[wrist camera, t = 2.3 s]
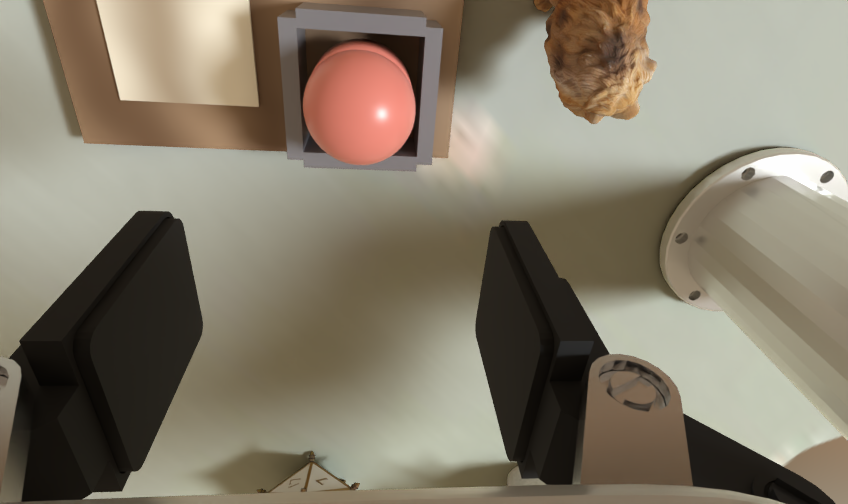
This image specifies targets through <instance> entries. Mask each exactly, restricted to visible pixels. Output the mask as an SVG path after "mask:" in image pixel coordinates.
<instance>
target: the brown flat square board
mask: <svg viewBox="0 0 848 504" xmlns="http://www.w3.org/2000/svg"><path fill="white" fill-rule="evenodd" d="M43 2H44V6H45V9H46V13H47V16H48V20H49V23H50V26H51V30H52V33H53V37H54V40H55V44H56V47H57V50H58V54H59V57H60V61H61V64H62V68H63V71H64V75H65V78H66V81H67V85H68V88H69V92H70V95H71V99H72V102H73V105H74V109H75V112H76V116H77V119H78V123H79V126H80V129H81V133H82V136H83V140H84V143H93V144H117V145H142V146H166V147H190V148H215V149H239V150H264V151H287V143H286V129H285V116H284V102H283V88H282V75H281V61H280V47H279V33H278V20H277V17H278V16H280V15H281V14H282V13H284V12H285V11H287V10H295V8H296V7H298V6H299V5H300V4H302V3H303V2H310V3H323V4H337V5H351V6H364V7H378V8H392V9H405V10H419V11H422V12H423V13H424V15H425V16H426V18H427V19H426V20H437V22H438V23H439V24H440V25H441V26H442V28H443V38H442V50H441V61H440V73H439V85H438V96H437V108H436V120H435V131H434V143H433V155H432V157H435V158H448V151H449V141H450V131H451V122H452V112H453V102H454V92H455V83H456V73H457V63H458V54H459V44H460V34H461V24H462V15H463V5H464V0H43ZM305 38H306V59H307V80H309V78H310V76H311V74H312V72H313V70H314V68H315V66H316V64H317V62H318V61H319V59H320V58H321V57H322V55H323V54H324V53H325V52H326V51H327V50H328V49H330V48H331V47H333V46H334V45H336V44H338V43H340V42H342V41H346V40H349V39H369V40H372V41H376V42H378V43H381V44H383V45H384V46H386V47H388V48H389V49H390V50H392V51H393V52H394V53H395V54H396V55H397V56H398V57H399V58H400V60H401V61H402V62H403V64H404V66H405V68H406V69H407V72H408V74H409V78H410V81H411V85H412V89H413V93H414V97H415V104H416V89H417V73H418V57H419V41H420V36H406V35H391V34H376V33H361V32H347V31H332V30H317V29H305ZM413 136H414V125H413V128H412V131H411V133H410V135H409V137H408V138H413Z"/></svg>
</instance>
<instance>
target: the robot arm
mask: <svg viewBox="0 0 848 504" xmlns="http://www.w3.org/2000/svg"><path fill="white" fill-rule="evenodd" d="M660 267H661V270H662V274H663V277H664V278H665V280H666V282H667V284H668V285H669V287H670V288H671V289H672V290H673V291H674V292H675V293H676V294H677V296H678V297H679V298H681V299H682V300H683V301H685V302H686V303H688V304H690V305H692V306H695V307H697V308H699V309H704V310H710V311H724V312H725V313H726V314H727V315H728V317H729V318H730V319H731V320H732V321H733V322H734V323H735V324H736V325H737V326H738V327H739V328H740V329H741V330H742V331H743V332H744V333H745V334H746V335H747V336H748V337H749V338H750V339H751V341H752V342H753V343H754V344H755V345H756V346H757V347H758V348H759V349H760V350H761V351H762V352H763V353H764V354H765V355H766V356H767V357H768V358H769V359H770V360H771V361H772V362H773V363H774V364H775V366H776V367H777V368H778V369H779V370H780V371H781V372H782V373H783V374H784V375H785V376H786V377H787V378H788V379H789V380H790V381H791V382H792V383H793V384H794V385H795V386H796V387H797V388H798V390H799V391H800V392H801V393H802V394H803V395H804V396H805V397H806V398H807V399H808V400H809V401H810V402H811V403H812V404H813V405H814V406H815V407H816V408H817V409H818V410H819V411H820V412H821V414H822V415H823V416H824V417H825V418H826V419H827V420H828V421H829V422H830V423H831V424H832V425H833V426H834V427H835V428H836V429H837V430H838V431H839V432H840V433H841V434H842V435H843V436H844V438H845V439H846V440H847V441H848V184H847V180H846V179H845V177H844V176H843V174H842V173H841V171H840V169H839V168H837V167H836V166H835V165H834V164H832V163H831V162H830V161H829V160H827V159H825V158H823V157H821V156H819V155H816V154H814V153H812V152H809V151H805V150H801V149H798V148H774V149H767V150H761V151H758V152H754V153H751V154H748V155H745V156H742V157H740V158H738V159H736V160H734V161H732V162H730V163H727V164H725V165H724V166H722V167H721V168H719V169H718V170H716V171H714V172H713V173H711V174H710V175H708V176H707V177H706V178H705V179H704V180H702V181H701V182H700V183H699V184H698V185H697V186H696V187H694V188H693V189H692V190H691V191H690V192H689V194H688V195H687V196H686V197H685V198H684V199H683V200H682V202H681V203H680V204H679V205H678V207H677V208H676V210H675V212H674V213H673V215H672V216H671V218H670V219H669V222H668V224H667V226H666V229H665V231H664V233H663V236H662V241H661V246H660ZM202 329H203V321H202V315H201V310H200V305H199V300H198V295H197V290H196V286H195V281H194V276H193V271H192V266H191V261H190V256H189V251H188V246H187V241H186V236H185V231H184V227H183V223H182V221H181V220H180V219H174V217H173V216H172V214H171V213H170V212H163V211H138V212H137V213H135V215H134V216H133V217H132V218H131V219H130V220H129V221H128V222H127V223H126V224H125V226H124V227H123V228H122V229H121V230H120V231H119V232H118V233H117V234H116V235H115V236H114V238H113V239H112V240H111V241H110V242H109V243H108V244H107V245H106V246H105V247H104V249H103V250H102V251H101V252H100V253H99V254H98V255H97V256H96V257H95V258H94V260H93V261H92V262H91V263H90V264H89V265H88V266H87V267H86V268H85V269H84V270H83V272H82V273H81V274H80V275H79V276H78V277H77V278H76V279H75V280H74V281H73V283H72V284H71V285H70V286H69V287H68V288H67V289H66V290H65V291H64V292H63V294H62V295H61V296H60V297H59V298H58V299H57V300H56V301H55V302H54V303H53V304H52V306H51V307H50V308H49V309H48V310H47V311H46V312H45V313H44V314H43V315H42V317H41V318H40V319H39V320H38V321H37V322H36V323H35V324H34V325H33V326H32V327H31V329H30V330H29V331H28V332H27V333H26V334H25V335H24V336H23V337H22V338H21V340H20V341H19V342H20V344H21V345H20V346H19V348H18V349H17V350H16V351H15V352H14V353H13V354H12V355H11V356H10V358H5V357H2V356H0V504H835V503H834V501H833V500H832V499H830V497H828V496H827V495H826V494H825V493H824V492H823V491H821V490H820V489H819V488H818V487H817V486H815V485H814V484H812V483H811V482H809V481H807V480H806V479H804V478H803V477H801V476H799V475H797V474H796V473H794V472H792V471H790V470H788V469H786V468H784V467H783V466H781V465H779V464H777V463H775V462H773V461H771V460H769V459H768V458H766V457H764V456H762V455H760V454H758V453H756V452H754V451H753V450H751V449H749V448H747V447H745V446H743V445H741V444H739V443H738V442H736V441H734V440H732V439H730V438H728V437H726V436H724V435H723V434H721V433H719V432H717V431H715V430H713V429H711V428H710V427H708V426H706V425H704V424H702V423H700V422H698V421H696V420H695V419H693V418H691V417H689V416H687V415H685V414H683V410H682V403H681V397H680V394H679V391H678V388H677V386H676V385H675V384H674V382H673V381H672V380H671V378H670V377H669V376H668V375H666V374H665V373H664V372H663V371H662V370H660V369H659V368H658V367H656V366H654V365H652V364H651V363H649V362H647V361H645V360H642V359H639V358H636V357H634V356H629V355H623V354H609V352H608V351H607V349H606V347H605V345H604V344H603V342H602V340H601V338H600V337H599V335H598V333H597V331H596V330H595V328H594V326H593V324H592V323H591V321H590V319H589V318H588V316H587V314H586V312H585V311H584V309H583V307H582V305H581V304H580V302H579V300H578V298H577V297H576V295H575V293H574V291H573V290H572V288H571V286H570V285H569V283H568V282H567V281H566V279H563V278H559V277H558V275H557V273H556V271H555V269H554V268H553V266H552V264H551V262H550V260H549V259H548V257H547V255H546V253H545V252H544V250H543V248H542V246H541V244H540V243H539V241H538V239H537V237H536V235H535V234H534V232H533V230H532V228H531V226H530V225H529V223H528V222H527V221H501V222H500V225H499V227H492V228H491V231H490V237H489V243H488V249H487V255H486V261H485V268H484V274H483V280H482V286H481V292H480V299H479V305H478V311H477V317H476V338H477V342H478V345H479V349H480V353H481V357H482V361H483V365H484V369H485V373H486V376H487V380H488V384H489V388H490V392H491V396H492V400H493V404H494V407H495V411H496V415H497V419H498V423H499V427H500V431H501V435H502V439H503V442H504V446H505V450H506V454H507V457H508V459H509V460H510V461H517V463H518V467H519V471H520V474H521V478H522V479H535V478H539V480H541V481H542V482H544V483H545V484H546V485H525V486H488V487H450V488H413V489H378V490H346V491H314V492H283V493H253V494H222V495H192V496H165V497H138V498H112V499H85V500H82V499H83V498H85V497H87V496H88V495H90V494H91V493H92V492H116V491H122V490H123V488H124V486H125V484H126V481H127V479H128V477H129V475H130V473H131V471H138V470H139V469H140V468H141V467H142V465H143V463H144V461H145V459H146V457H147V454H148V452H149V450H150V448H151V446H152V443H153V441H154V439H155V437H156V435H157V432H158V430H159V428H160V426H161V424H162V421H163V419H164V417H165V415H166V413H167V410H168V408H169V406H170V404H171V402H172V399H173V397H174V395H175V393H176V390H177V388H178V386H179V384H180V382H181V379H182V377H183V375H184V373H185V371H186V368H187V366H188V364H189V362H190V360H191V357H192V355H193V353H194V351H195V349H196V346H197V344H198V342H199V340H200V337H201V335H202Z"/></svg>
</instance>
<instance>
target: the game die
mask: <svg viewBox="0 0 848 504" xmlns="http://www.w3.org/2000/svg"><path fill="white" fill-rule="evenodd" d="M309 459H310V462H309V463H308V464H307V465H305V466H304V467H302V468H301V469H300V470H298V471H297V472H295V473H294V474H293V475H291V476H290V477H289V478H287V479H286V480H284V481H283V482H282V483H280V484H279V485H277V486H276V487H275V488H273V489H272V490H270V491H269V492H266V490H263V489H258V490H257V491H258V493H283V492H314V491H346V490H356V489H358V487H359V485H360V483H354V484H352V486H351V487H350V486H348V485H347V484H346V483H345V481H346V480H345V481H344V480H340V479H338V478H337V477H335V476H334V475H332V474H331V473H329V472H328V471H327V470H325V469H324V468H322V467H321V466H319V465H318V464H316V463H315V462H314V459H315V454H314V453H313V451H312V452H311V454H310V455H309Z"/></svg>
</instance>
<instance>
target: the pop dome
mask: <svg viewBox="0 0 848 504" xmlns="http://www.w3.org/2000/svg"><path fill="white" fill-rule="evenodd" d="M303 113H304V118H305V122H306V125H307V128H308V130H309V132H310V134H311V136H312V138H313V139H314V141H315V142H316V143H317V144H318V146H319V147H320V148H321V149H322V150H324V151H325V152H326V153H327V154H328V155H330V156H332V157H333V158H335V159H337V160H339V161H342V162H344V163H348V164H352V165H370V164H375V163H378V162H381V161H383V160H385V159H387V158H389V157H391V156H392V155H393V154H395V153H396V152H397V151H398V150H399V149H400V148H401V147H402V146H403V145H404V143H405V142H406V140H407V139H408V137H409V135H410V133H411V131H412V128H413V125H414V121H415V114H416V113H415V97H414V93H413V89H412V85H411V81H410V78H409V74H408V72H407V69H406V68H405V66H404V64H403V62H402V61H401V60H400V58H399V57H398V56H397V55H396V54H395V53H394V52H393V51H392V50H390V49H389V48H388V47H386V46H384V45H383V44H381V43H378V42H376V41H372V40H369V39H349V40H346V41H342V42H340V43H338V44H336V45H334V46H333V47H331V48H330V49H328V50H327V51H326V52H325V53H324V54H323V55H322V57H321V58H320V59H319V61H318V62H317V64H316V66H315V68H314V70H313V72H312V74H311V76H310V78H309V80H308V82H307V84H306V88H305V91H304V97H303Z"/></svg>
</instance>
